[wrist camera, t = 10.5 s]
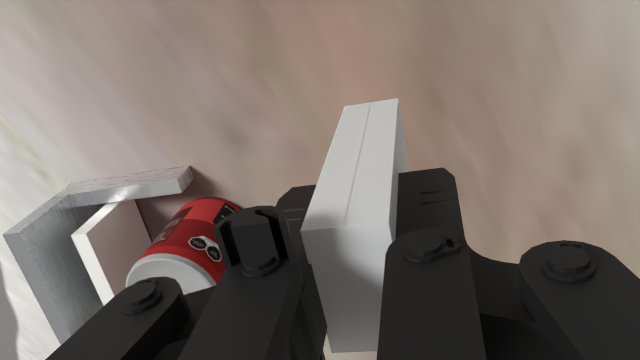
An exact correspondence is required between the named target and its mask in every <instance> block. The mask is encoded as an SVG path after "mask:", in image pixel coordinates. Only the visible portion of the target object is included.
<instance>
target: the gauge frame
mask: <svg viewBox="0 0 640 360" xmlns="http://www.w3.org/2000/svg"><path fill="white" fill-rule="evenodd" d="M193 179H194V177H193V174H192V171H191V169H190V166H183V167H176V168H170V169H163V170H156V171H149V172H142V173H136V174H129V175H122V176H115V177H108V178H102V179H95V180H88V181H81V182H74V183H71V184H70V185H69V186H67V187H66V188H65V189H63V190H62V191H61V192H59V193H58V194H57V195H55V196H54V197H52V198H51V199H50V200H48V201H47V202H46V203H44V204H43V205H42V206H40V207H39V208H38V209H36V210H35V211H34V212H32V213H31V214H30V215H28V216H27V217H26V218H24V219H23V220H22V221H20V222H19V223H18V224H16V225H15V226H14V227H12V228H11V229H10V230H8V231H7V232H5V233H4V234H3V237H4V239H5V240H6V242H7V244H8V246H9V248H10V250H11V252H12V254H13V256H14V257H15V259H16V261H17V263H18V265H19V267H20V269H21V271H22V273H23V274H24V276H25V278H26V280H27V282H28V284H29V286H30V288H31V290H32V291H33V293H34V295H35V297H36V299H37V301H38V303H39V305H40V307H41V308H42V310H43V312H44V314H45V316H46V318H47V320H48V322H49V324H50V325H51V327H52V329H53V331H54V333H55V335H56V337H57V339H58V341H59V342H60V344H61V345H62V344H63V343H64V342H65V341H66V340H67V339H68V338H70V337H71V336H72V335H73V334H74V333H75V332H76V331H77V330H78V329H79V328H80V327H82V326H83V325H84V324H85V323H86V322H87V321H88V320H89V319H90V318H91V317H92V316H93V315H95V314H96V313H97V312H98V311H99V310H100V309H101V308H102V307H103V306H104V305H103V303H102V301H101V299H100V297H99V295H98V293H97V290H96V288H95V286H94V284H93V282H92V280H91V278H90V276H89V273H88V271H87V269H86V267H85V265H84V263H83V261H82V258H81V256H80V254H79V252H78V250H77V248H76V246H75V244H74V241H73V239H72V237H71V235H72V234H73V233H74V232H75V231H77V230H78V229H79V228H80V227H81V226H82V225H83V224H84V223H85V222H87V221H88V220H89V219H90V218H91V217H92V216H93V215H94V214H96V213H97V212H98V211H99V210H98V207H97V205H96V204H103V203H110V202H118V201H125V200H133V199H140V198H147V197H155V196H162V195H170V194H177V193H182V192H183V191H184V190H185V189H186V187H187V186H188V185H189V184H190V183H191V182H192V181H193Z"/></svg>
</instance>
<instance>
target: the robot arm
mask: <svg viewBox="0 0 640 360" xmlns="http://www.w3.org/2000/svg"><path fill="white" fill-rule="evenodd" d="M212 230H213V233H214V235H215V238H216V241H217V244H218V247H219V250H220V253H221V256H222V259H223V262H224V265H225V268H226V269H225V271H224V273H223V274H222V276H221V278H220V280H219V282H218V284H217V285H215V286H212V287H209V288H206V289H202V290H199V291H195V292H192V293H188V294H185V295H184V294H183V292H182V289H181V287H180V284H179V283H178V282H177V281H176V279H173V278H170V277H166V276H164V277H151V278H146V279H143V280H140V281H137V282H136V283H135V284H133V285H131V286H129V287H127V288H125V289H124V290H122V291H121V292H120V293H118V294H117V295H116V296H114V297H113V298H112V299H111V300H110V301H109V302H108V303H107V304H105V305H104V306H103V307H102V308H101V309H100V310H99V311H98V312H97V313H96V314H95V315H93V316H92V317H91V318H90V319H89V320H88V321H87V322H86V323H85V324H84V325H83V326H82V327H80V328H79V329H78V330H77V331H76V332H75V333H74V334H73V335H72V336H71V337H70V338H68V339H67V340H66V341H65V342H64V343H63V344H62V345H61V346H60V347H59V348H58V349H56V350H55V351H54V352H53V353H52V354H51V355H50V356H49V357H48V358H47V359H46V360H325V356H324V353H323V346H324V341H325V336H326V332H327V336H328V340H329V344H330V347H331V351H332V353H338V352H362V351H377V360H640V279H639V278H638V277H637V276H636V275H635V274H634V273H632V272H631V271H630V270H629V269H628V268H627V267H626V266H625V265H624V264H623V263H621V262H620V261H619V260H618V259H617V258H616V257H615V256H613V255H612V254H610V253H609V252H607V251H605V250H604V249H602V248H600V247H597V246H594V245H591V244H587V243H584V242H577V241H565V240H563V241H554V242H546V243H543V244H540V245H537V246H535V247H532V248H531V249H529V250H528V251H527V252H526V253H524V254H523V255H522V257H521V260H520V263H519V264H514V263H506V262H500V261H495V260H491V259H489V258H486V257H483V256H481V255H479V254H478V253H476V252H474V251H473V250H472V249H471V248H470V247H469V246H468V245H467V242H466V240H465V236H464V230H463V224H462V218H461V212H460V206H459V200H458V194H457V188H456V182H455V177H454V176H453V175H452V174H451V173H449V172H448V171H447V170H446V169H444V168H436V169H428V170H420V171H412V172H409V167H408V161H407V154H406V147H405V141H404V134H403V127H402V121H401V114H400V108H399V101H398V98H397V99H390V100H384V101H377V102H371V103H364V104H358V105H351V106H345V107H344V109H343V112H342V115H341V118H340V121H339V123H338V126H337V129H336V132H335V135H334V138H333V140H332V143H331V146H330V149H329V152H328V154H327V157H326V160H325V163H324V166H323V168H322V171H321V174H320V177H319V180H318V182H317V185H309V186H300V187H292V188H291V189H290V190H289V191H288V192H287V193H285V194H284V195H283V196H282V197H281V198H280V199H279V200H278V203H277V205H276V207H274V206H256V207H251V208H246V209H243V210H240V211H238V212H235V213H232V214H230V215H229V216H227V217H225V218H224V219H222V220H221V221H219V222H218V223H217V224H216V225H215V227H214V228H213V229H212Z"/></svg>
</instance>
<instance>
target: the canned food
mask: <svg viewBox="0 0 640 360" xmlns="http://www.w3.org/2000/svg"><path fill="white" fill-rule="evenodd" d="M238 211H240V209H239V208H238V207H237V206H235V205H234V204H232V203H230V202H229V201H227V200H224V199H221V198H216V197H202V198H198V199H196V200H193V201H191V202H189V203H187V204H185V205H184V206H183V207H182V208H181V209H180V210H179V211H178V213H177V214H176V215H175V216H174V217H173V219H172V220H171V221H170V222H169V223H168V225H167V226H166V227H165V228H164V229H163V230H162V232H161V233H160V234H159V235H158V236H157V238H156V239H155V240H154V241H153V242H152V244H151V245H150V246H149V247H148V248H147V250H146V251H145V252H144V253H143V254H142V256H141V257H140V258H139V259H138V260H137V262H136V263H135V264H134V266H133V267H132V268H131V270H130V272H129V274H128V276H127V278H126V288H127V287H129V286H131V285H133V284H135V283H136V282H137V281H140V280H143V279H146V278H151V277H164V276H166V277H170V278H173V279H176V281H177V282H178V283H179V284H180V287H181V289H182V292H183V294H184V295H185V294H188V293H192V292H195V291H199V290H202V289H206V288H209V287H212V286H215V285H217V284H218V282H219V280H220V278H221V276H222V274H223V273H224V271H225V269H226V268H225V265H224V262H223V259H222V256H221V253H220V250H219V247H218V244H217V241H216V238H215V235H214V233H213V230H212V229H213V228H214V227H215V225H216V224H217V223H218V222H219V221H221V220H222V219H224V218H225V217H227V216H229V215H230V214H232V213H235V212H238Z"/></svg>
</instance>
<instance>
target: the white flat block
mask: <svg viewBox="0 0 640 360" xmlns="http://www.w3.org/2000/svg"><path fill="white" fill-rule="evenodd" d="M71 237H72V239H73V241H74V244H75V246H76V248H77V250H78V252H79V254H80V256H81V258H82V261H83V263H84V265H85V267H86V269H87V271H88V273H89V276H90V278H91V280H92V282H93V284H94V286H95V288H96V290H97V293H98V295H99V297H100V299H101V301H102V303H103V305H105V304H107V303H108V302H109V301H110V300H111V299H112V298H113V297H114V296H116V295H117V294H118V293H120V292H121V291H122V290H124V289H125V288H126V278H127V276H128V274H129V272H130V270H131V268H132V267H133V266H134V264H135V263H136V262H137V260H138V259H139V258H140V257H141V256H142V254H143V253H144V252H145V251H146V250H147V248H148V247H149V246H150V245H151V244H152V242H151V240H150V237H149V235H148V232H147V230H146V227H145V225H144V222H143V220H142V217H141V215H140V212H139V210H138V207H137V205H136V202H135V200H134V199H133V200H125V201H118V202H110V203H107V204H106V205H104V206H103V207H102V208H101V209H100V210H99V211H98V212H97V213H96V214H94V215H93V216H92V217H91V218H90V219H89V220H88V221H87V222H85V223H84V224H83V225H82V226H81V227H80V228H79V229H78V230H77V231H75V232H74V233H73V234H72V235H71Z"/></svg>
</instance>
